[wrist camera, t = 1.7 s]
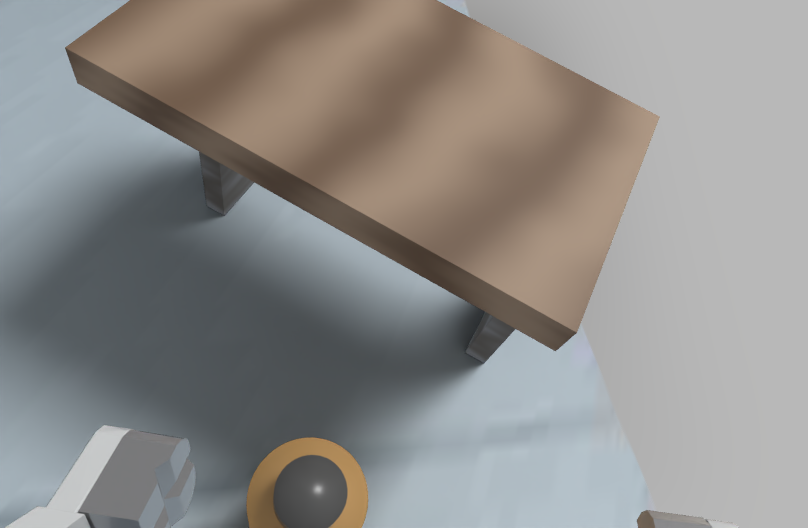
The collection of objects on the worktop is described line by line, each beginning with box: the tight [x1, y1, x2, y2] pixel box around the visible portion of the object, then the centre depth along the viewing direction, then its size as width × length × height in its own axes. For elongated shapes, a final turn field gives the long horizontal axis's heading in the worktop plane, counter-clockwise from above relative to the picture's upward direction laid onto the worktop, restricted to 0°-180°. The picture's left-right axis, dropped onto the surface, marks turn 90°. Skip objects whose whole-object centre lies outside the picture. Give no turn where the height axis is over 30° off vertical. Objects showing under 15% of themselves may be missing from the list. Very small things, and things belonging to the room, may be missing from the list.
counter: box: [65, 0, 659, 363], centre depth 36 cm, size 24×14×20 cm, turn 62°
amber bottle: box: [246, 438, 368, 528], centre depth 30 cm, size 5×5×14 cm
